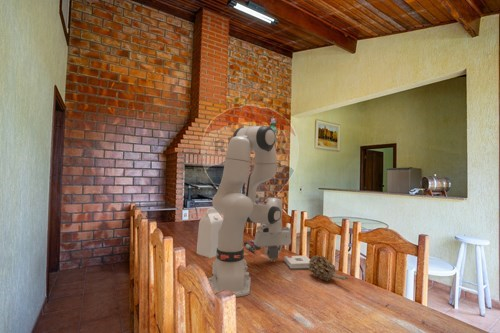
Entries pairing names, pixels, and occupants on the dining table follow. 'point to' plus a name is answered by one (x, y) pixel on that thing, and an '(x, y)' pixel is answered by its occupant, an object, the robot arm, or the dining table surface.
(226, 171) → the robot arm
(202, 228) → the milk
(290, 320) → the dining table surface
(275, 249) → the plug
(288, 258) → the socket
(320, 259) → the pine cone
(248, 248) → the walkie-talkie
